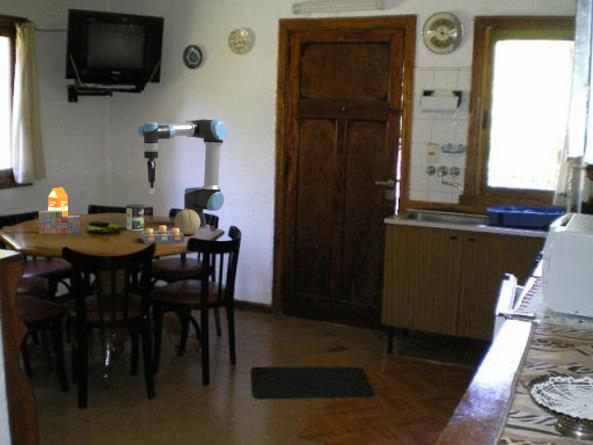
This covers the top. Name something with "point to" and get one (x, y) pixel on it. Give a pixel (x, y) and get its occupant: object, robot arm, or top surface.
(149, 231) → the button
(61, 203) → the orange juice
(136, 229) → the coffee can
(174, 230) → the button
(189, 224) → the cantaloupe
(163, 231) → the button mid
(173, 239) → the button board
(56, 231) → the stack of blocks
